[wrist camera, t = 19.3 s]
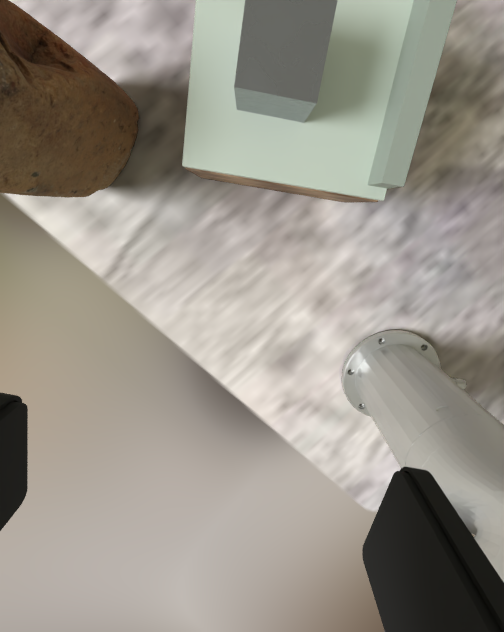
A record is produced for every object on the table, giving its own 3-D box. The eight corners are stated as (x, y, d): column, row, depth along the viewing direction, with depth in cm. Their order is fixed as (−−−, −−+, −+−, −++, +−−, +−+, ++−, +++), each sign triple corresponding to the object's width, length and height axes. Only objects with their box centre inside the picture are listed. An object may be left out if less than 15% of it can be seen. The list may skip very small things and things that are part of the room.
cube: (319, 42, 23) (337, 0, 18) (303, 122, 25) (317, 103, 20) (247, 27, 23) (247, -20, 18) (236, 109, 24) (234, 87, 20)
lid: (434, -9, 23) (471, -51, 19) (378, 200, 27) (400, 200, 24) (203, -58, 22) (194, -112, 18) (184, 167, 26) (173, 161, 23)
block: (99, 205, 37) (-57, 207, 18) (40, 154, 35) (-200, 98, 16) (160, 124, 34) (52, 28, 16) (99, 66, 33) (-104, -122, 14)
